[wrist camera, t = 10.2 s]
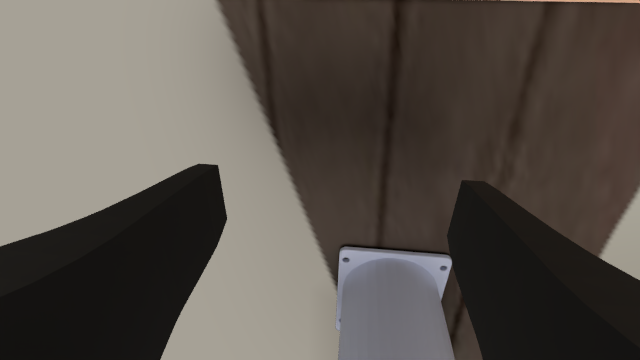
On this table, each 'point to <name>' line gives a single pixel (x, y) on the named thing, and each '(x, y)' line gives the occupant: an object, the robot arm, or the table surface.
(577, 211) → the table surface
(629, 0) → the terracotta tile
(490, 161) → the table surface
